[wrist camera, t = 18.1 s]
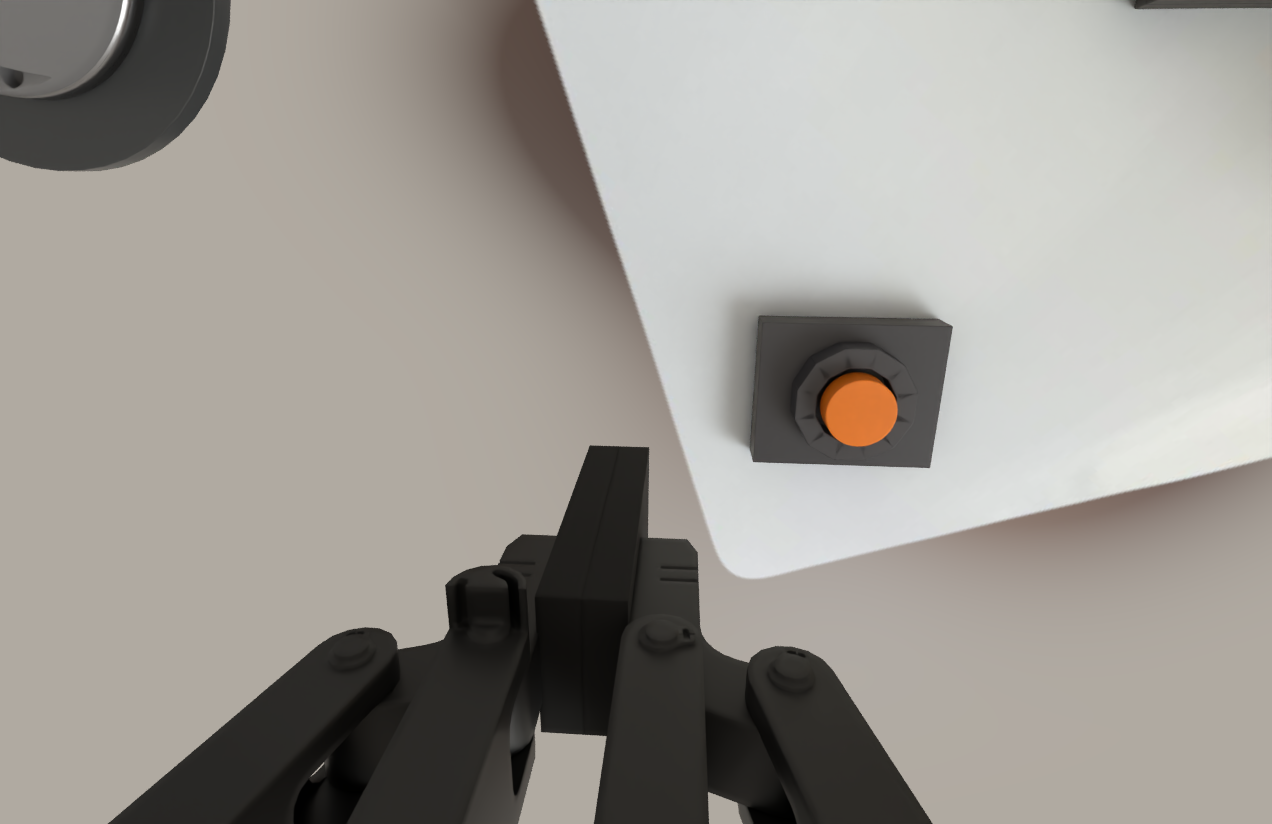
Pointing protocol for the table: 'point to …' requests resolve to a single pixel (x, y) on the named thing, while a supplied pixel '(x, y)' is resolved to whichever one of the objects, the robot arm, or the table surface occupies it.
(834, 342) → the control block
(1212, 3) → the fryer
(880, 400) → the button
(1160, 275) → the table surface
